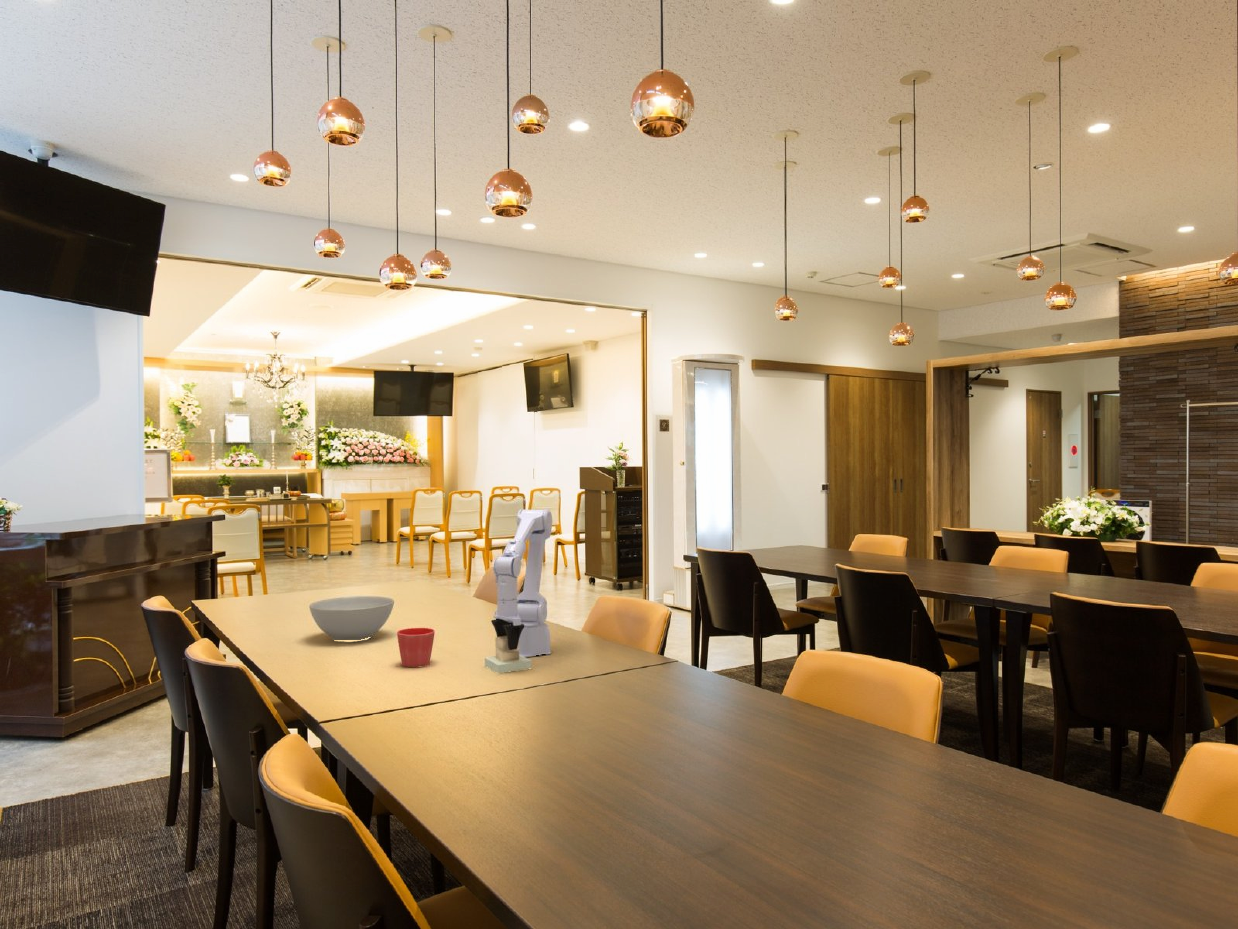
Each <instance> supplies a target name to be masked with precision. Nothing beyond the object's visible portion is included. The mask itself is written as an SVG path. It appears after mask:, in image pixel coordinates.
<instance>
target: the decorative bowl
mask: <svg viewBox="0 0 1238 929" xmlns="http://www.w3.org/2000/svg"><path fill="white" fill-rule="evenodd" d="M394 604H395V600H394V599H393V598H390V597H386V596H374V595H371V596H368V595H365V596H364V595H363V596H361V595H360V596H359V595H357V596H343V597H342V596H341V597H334V598H327V599H322V600H318V601H317V600H316V601H314V602H312V603H310V604H309V612H310V613H311V616H312V618H313V620H314V622H315V624H316V625H317V627H318V628H319V629H320V630H321V631H322V632H324V634H326V635H327V636H330V637H331V638H332V640H333V639H334V640H361V639H365V638H368V637H372V638H373V635H375V633H377V632H378V631H380V630H381V629H382V627H383V626H384V625H385V624H386V622H387V621H388V620H389V618H390V615H391V613H392V611H393V609H394V608H393V607H394Z"/></svg>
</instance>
